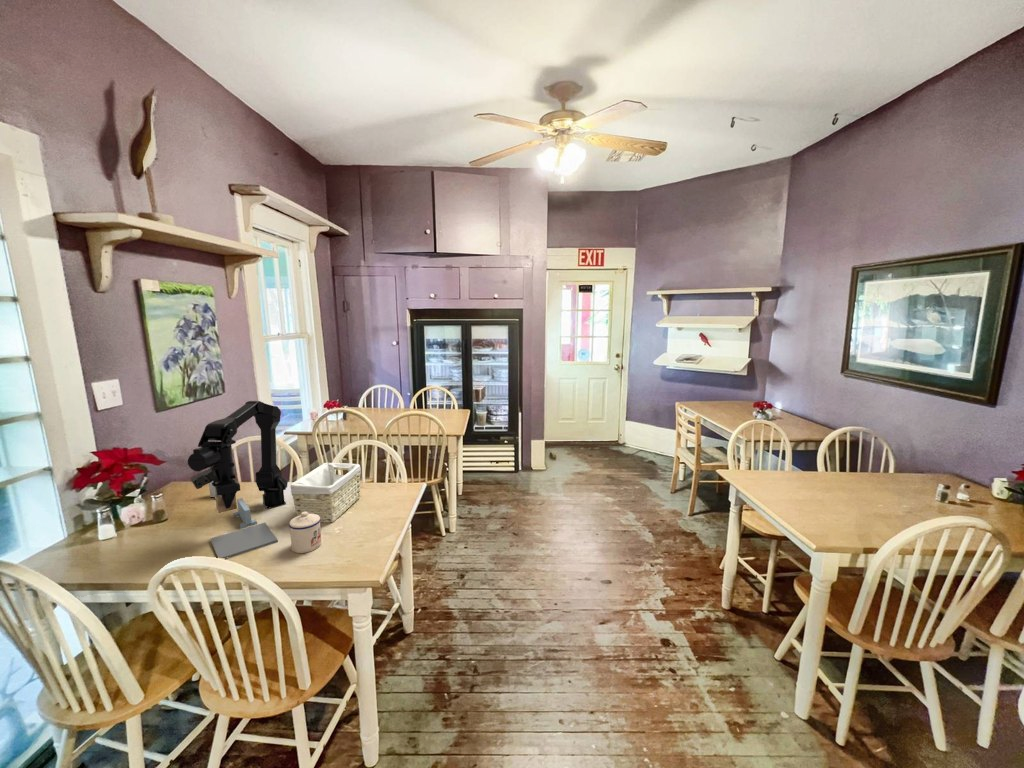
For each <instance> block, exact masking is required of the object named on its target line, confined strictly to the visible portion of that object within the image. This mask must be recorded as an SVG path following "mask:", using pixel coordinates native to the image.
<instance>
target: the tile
mask: <svg viewBox="0 0 1024 768" xmlns="http://www.w3.org/2000/svg"><path fill="white" fill-rule="evenodd" d="M278 541H279V539H278V538H277V537H276V535H275V534H274V532H273V531H272V530H271V529H270V527H269V526H268V525H267V523H266V522H261V523H257V524H255V525H251V526H248V527H244V528H240V529H237V530H233V531H230V532H227V533H224V534H220V535H217V536H214V537H210V543H211V546H212V548H213V550H214V552H215V554H216V557H217V558H218V557H219V558H225V559H224V560H228V558H227V557H230V558H233V557H236V556H240V555H243V554H245V553H249V552H251V551H254V550H258V549H260V548H263V547H267V546H270V545H272V544H277V543H278Z"/></svg>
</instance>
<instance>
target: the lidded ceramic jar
mask: <svg viewBox="0 0 1024 768" xmlns="http://www.w3.org/2000/svg"><path fill="white" fill-rule="evenodd" d="M320 520H321V518H320V516H319V515H317V514H309V513H308V512H306V511H305V512H302V513H301V515H300V516H297V515H296V516H295V517H293V518H292V519H291V520H290V521H289V524H288V526H289V530H290V543H291V544H290V545H291V551H292V552H294V553H296V554H305V553H310V552H312V551H315V550H317V549H318V548H320V546H321V544H322V533H321V532H322V531H321V522H320Z"/></svg>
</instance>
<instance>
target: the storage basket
mask: <svg viewBox="0 0 1024 768" xmlns="http://www.w3.org/2000/svg"><path fill="white" fill-rule="evenodd" d="M361 467H362V466H361V464H359V463H343V462H324V463H322V464H321V465H319V466H318V467H315V468H314V469H313V470H311V471H310V472H308V473H307V474H305V475H303V476H302V477H300V478H298V479H296V480H295V481H294V482H291V484H290V493H291V496H292V500H293V505H294V509H295V513H296V517H297V516H300V515H301V513H302V512H305V511H306V512H308V513H309V514H317V515H319V516H320V518H321V520H320V523H334V522H335V521H337V519H339V517H341V516H342V515H343V514H344V513H345V512H346V511H348V509H349V508H350V507H351V506H352V505H354V504H355V503H356V502H357V501H358V499H360V497H361V487H360V486H361V475H362V474H361V473H362V472H361V470H362V469H361ZM335 470H336V471H338V470H339V471H347V473H346V474H335Z"/></svg>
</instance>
